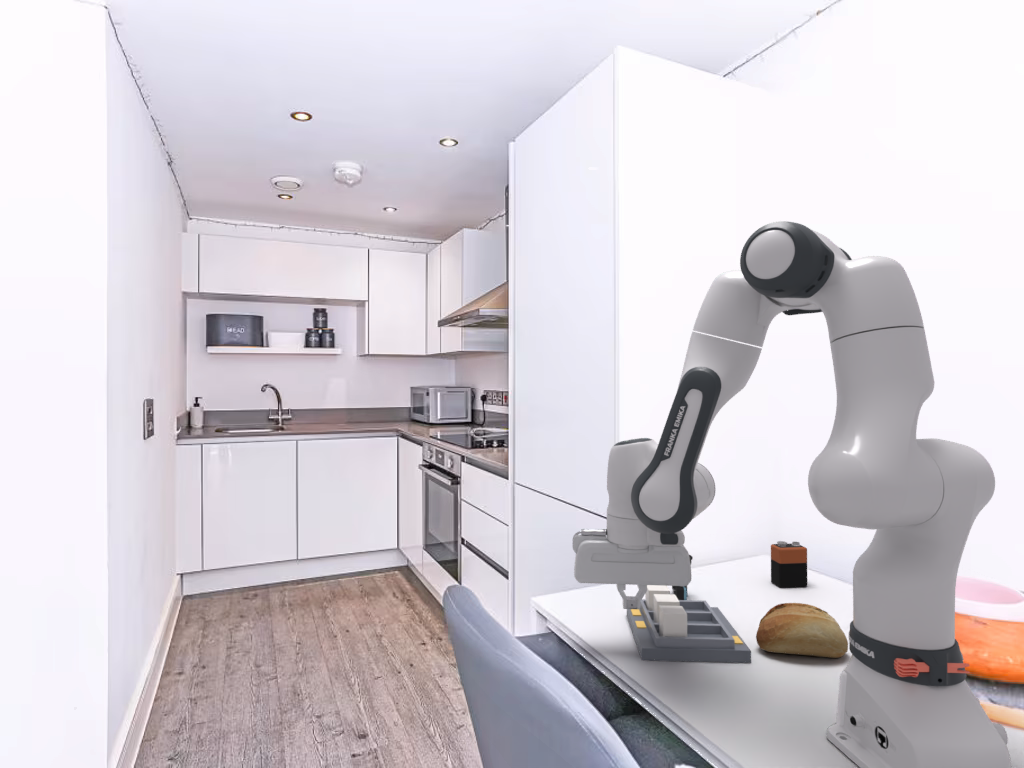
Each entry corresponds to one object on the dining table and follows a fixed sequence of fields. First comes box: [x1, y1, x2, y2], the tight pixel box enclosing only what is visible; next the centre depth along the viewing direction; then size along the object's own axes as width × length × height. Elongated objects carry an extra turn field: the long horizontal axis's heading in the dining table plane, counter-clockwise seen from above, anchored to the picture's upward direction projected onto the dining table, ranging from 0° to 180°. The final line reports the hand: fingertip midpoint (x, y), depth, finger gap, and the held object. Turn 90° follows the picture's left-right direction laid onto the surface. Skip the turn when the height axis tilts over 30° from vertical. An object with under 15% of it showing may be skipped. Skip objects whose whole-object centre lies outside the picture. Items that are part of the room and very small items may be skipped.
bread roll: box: [755, 602, 849, 659], centre depth 105 cm, size 10×15×8 cm, turn 86°
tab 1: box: [645, 585, 671, 611], centre depth 117 cm, size 4×4×5 cm
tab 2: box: [653, 593, 680, 623], centre depth 111 cm, size 4×4×5 cm
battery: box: [770, 540, 808, 589], centre depth 140 cm, size 4×7×10 cm, turn 96°
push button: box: [671, 554, 693, 600], centre depth 133 cm, size 7×5×10 cm
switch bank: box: [626, 598, 752, 664], centre depth 111 cm, size 20×18×4 cm
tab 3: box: [659, 606, 687, 637], centre depth 105 cm, size 4×4×5 cm
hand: (631, 608), depth 107 cm, fingers closed
